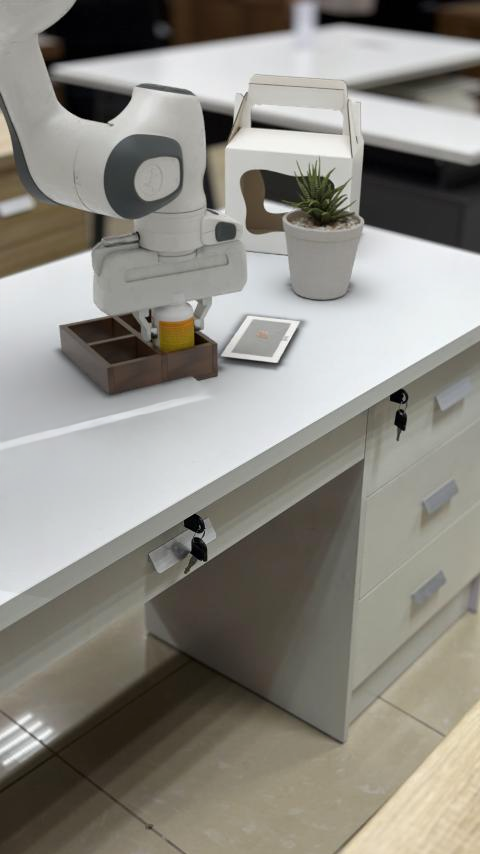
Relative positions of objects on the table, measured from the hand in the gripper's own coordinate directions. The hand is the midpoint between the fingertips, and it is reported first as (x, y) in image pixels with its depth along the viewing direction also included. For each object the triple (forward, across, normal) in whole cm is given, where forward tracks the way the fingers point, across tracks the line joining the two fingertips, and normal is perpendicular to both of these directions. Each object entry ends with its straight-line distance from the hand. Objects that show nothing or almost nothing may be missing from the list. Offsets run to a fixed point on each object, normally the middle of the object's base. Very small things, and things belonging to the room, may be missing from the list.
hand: (173, 334), depth 122 cm
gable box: (+5, +44, +38) cm, 58 cm away
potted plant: (+5, +35, +16) cm, 38 cm away
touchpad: (+5, +15, +2) cm, 16 cm away
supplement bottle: (+4, 0, 0) cm, 4 cm away
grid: (+5, -3, +4) cm, 7 cm away
